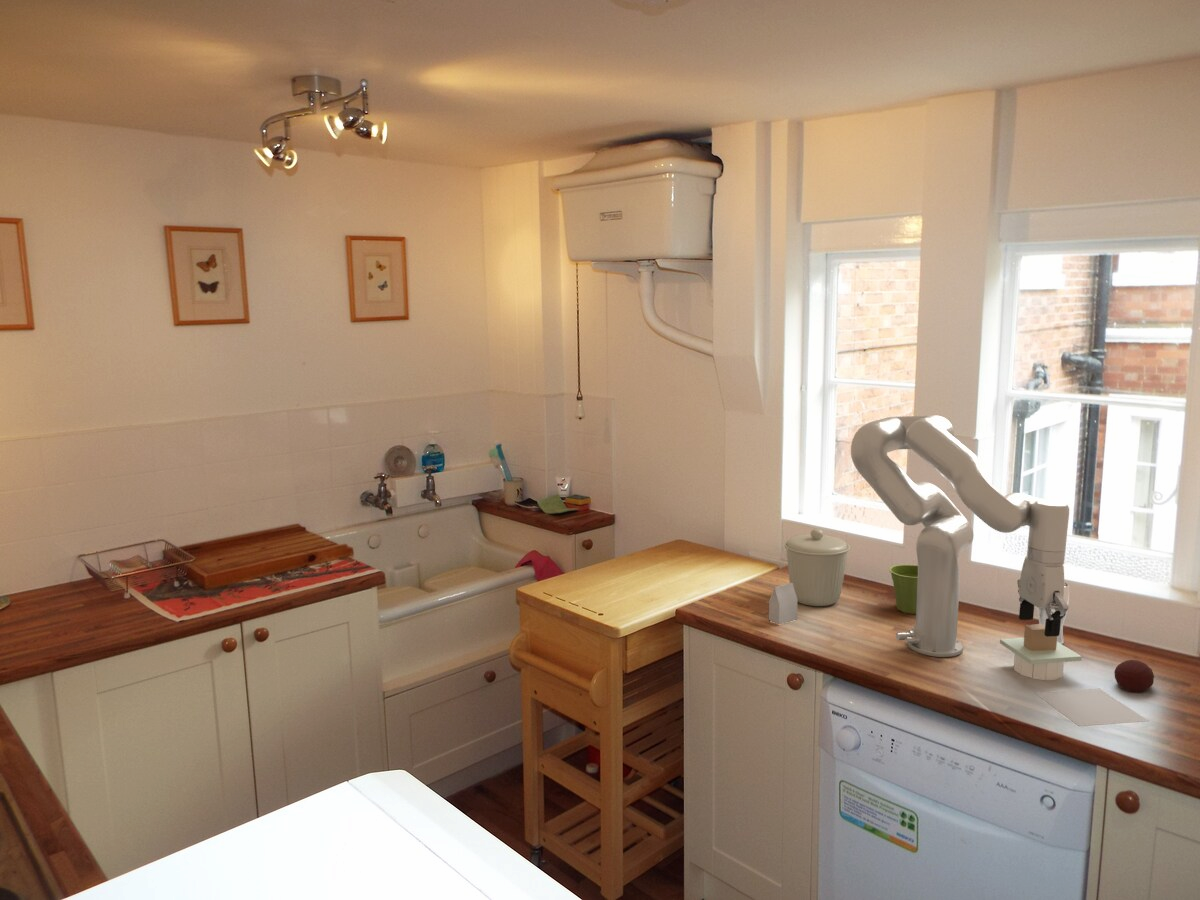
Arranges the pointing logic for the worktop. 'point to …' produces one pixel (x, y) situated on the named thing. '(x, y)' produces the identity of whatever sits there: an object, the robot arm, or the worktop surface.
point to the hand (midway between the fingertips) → (1038, 627)
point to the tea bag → (783, 604)
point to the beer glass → (1043, 614)
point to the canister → (816, 567)
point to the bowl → (1038, 669)
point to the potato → (1134, 676)
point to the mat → (1090, 707)
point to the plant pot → (905, 587)
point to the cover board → (1040, 654)
